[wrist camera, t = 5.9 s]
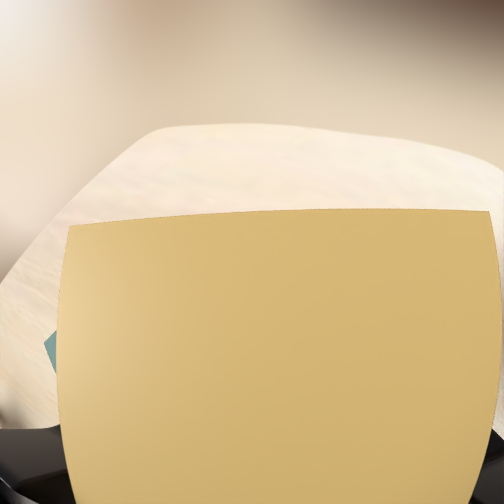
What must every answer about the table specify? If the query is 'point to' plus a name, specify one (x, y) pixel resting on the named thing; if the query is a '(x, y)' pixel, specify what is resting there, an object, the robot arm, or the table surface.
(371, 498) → the ochre block
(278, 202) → the table surface
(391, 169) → the table surface
